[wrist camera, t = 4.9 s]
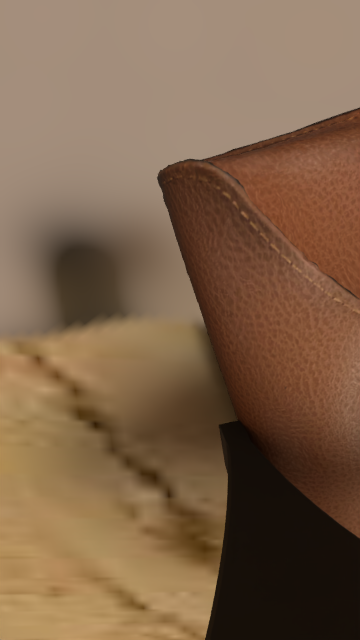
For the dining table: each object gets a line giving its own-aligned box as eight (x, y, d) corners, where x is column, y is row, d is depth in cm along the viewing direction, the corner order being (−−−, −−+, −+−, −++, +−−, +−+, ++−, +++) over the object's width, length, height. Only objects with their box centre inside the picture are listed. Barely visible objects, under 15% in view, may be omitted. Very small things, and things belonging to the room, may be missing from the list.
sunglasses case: (428, 476, 14) (490, 656, 9) (288, 459, 18) (275, 581, 13) (406, 75, 8) (544, -63, 3) (203, 169, 12) (112, 177, 7)
